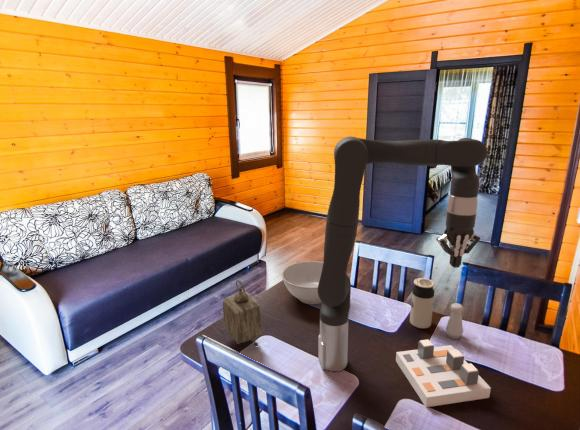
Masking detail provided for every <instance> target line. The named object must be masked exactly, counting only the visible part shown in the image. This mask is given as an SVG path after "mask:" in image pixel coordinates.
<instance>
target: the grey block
mask: <svg viewBox="0 0 580 430" xmlns="http://www.w3.org/2000/svg"><path fill="white" fill-rule="evenodd" d="M479 374H480V372H479V370H478V368H476V367H475V366H474V365H473V364H472V363H468V364H463V365H461V367H460V374H459V377H460V378H461V380H462V381H463V382H464V383H465V384H466V385H472V384H477V382H478V375H479ZM479 376H480V375H479Z"/></svg>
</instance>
